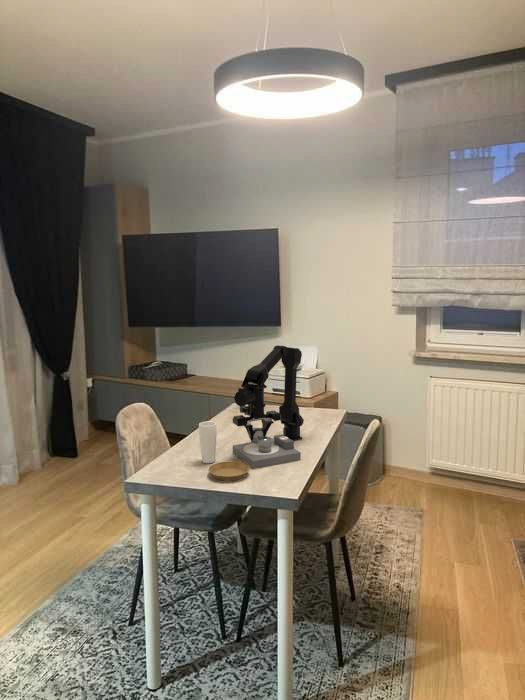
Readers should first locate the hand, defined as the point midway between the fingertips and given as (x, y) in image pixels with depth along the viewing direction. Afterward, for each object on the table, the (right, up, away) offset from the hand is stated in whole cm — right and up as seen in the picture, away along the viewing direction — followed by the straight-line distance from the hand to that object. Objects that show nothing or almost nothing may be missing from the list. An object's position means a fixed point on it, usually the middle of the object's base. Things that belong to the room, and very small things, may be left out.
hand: (257, 439), depth 209 cm
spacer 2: (+3, -4, -6) cm, 7 cm away
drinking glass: (-19, -8, -6) cm, 21 cm away
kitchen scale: (+3, -6, -1) cm, 7 cm away
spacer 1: (0, -1, 0) cm, 1 cm away
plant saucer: (-10, -10, -20) cm, 24 cm away
